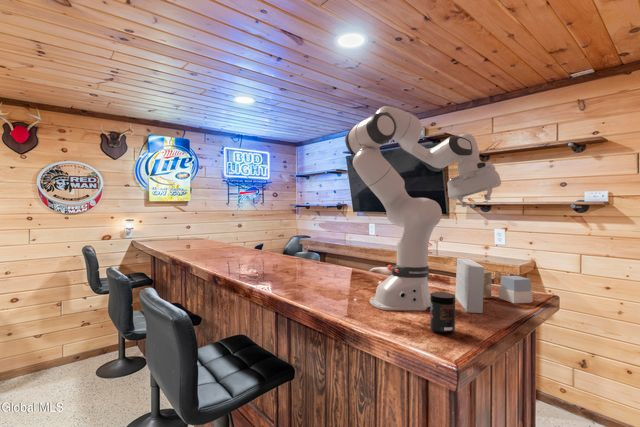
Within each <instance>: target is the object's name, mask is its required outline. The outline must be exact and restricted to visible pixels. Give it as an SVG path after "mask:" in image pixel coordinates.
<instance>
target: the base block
mask: <svg viewBox="0 0 640 427" xmlns="http://www.w3.org/2000/svg"><path fill="white" fill-rule="evenodd" d="M498 299H501V300H504V301H507V302H510V303H512V304H528V303H530V304H531V302H532V303H533V291H532V290H531V291H520V292H513V291H510V290H507V289H504V288H501V286H499V287H498Z"/></svg>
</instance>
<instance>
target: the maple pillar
mask: <svg viewBox="0 0 640 427" xmlns="http://www.w3.org/2000/svg"><path fill="white" fill-rule="evenodd" d="M492 273H493V272H491V271H487V270H484V289H483V299H489V298H490V299H491V298H492Z"/></svg>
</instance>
